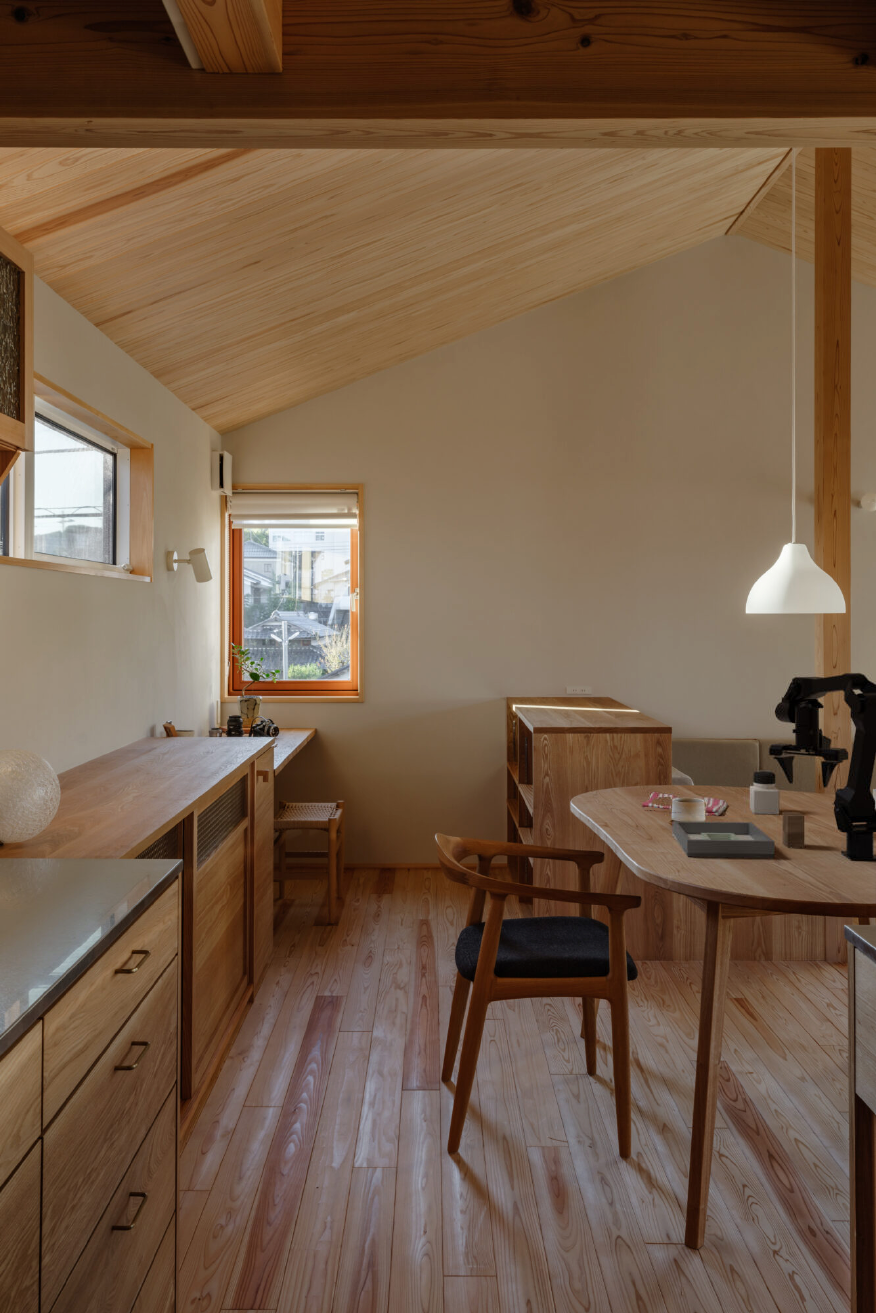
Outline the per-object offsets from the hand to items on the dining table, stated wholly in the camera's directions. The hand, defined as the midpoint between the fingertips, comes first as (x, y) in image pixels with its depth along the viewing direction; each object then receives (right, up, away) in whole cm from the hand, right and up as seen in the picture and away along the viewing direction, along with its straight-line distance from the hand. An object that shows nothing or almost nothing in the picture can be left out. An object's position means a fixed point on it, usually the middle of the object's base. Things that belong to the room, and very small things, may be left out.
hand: (807, 785), depth 217 cm
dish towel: (-21, -13, +38) cm, 45 cm away
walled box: (-26, -14, -9) cm, 30 cm away
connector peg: (-7, -14, -9) cm, 18 cm away
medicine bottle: (+1, -13, +31) cm, 33 cm away
